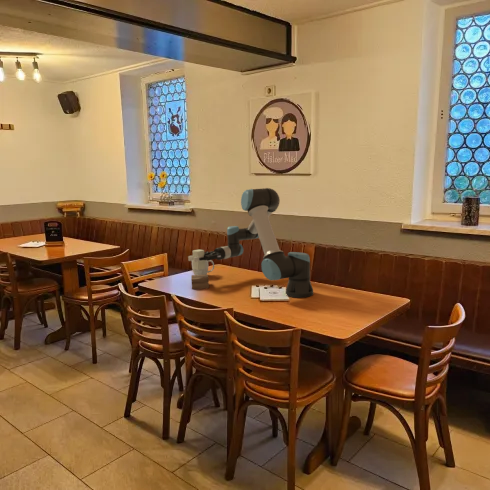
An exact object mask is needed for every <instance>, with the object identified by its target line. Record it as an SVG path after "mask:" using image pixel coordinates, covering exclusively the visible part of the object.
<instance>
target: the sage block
mask: <svg viewBox="0 0 490 490" xmlns="http://www.w3.org/2000/svg"><path fill="white" fill-rule="evenodd" d="M204 252H205V250H204V249H194V250H192V256H193V268H194V269H197V270H200V269H204V268H205V260H203V261H198V262H194V257H199V256H204Z"/></svg>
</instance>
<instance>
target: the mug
mask: <svg viewBox="0 0 490 490" xmlns="http://www.w3.org/2000/svg"><path fill="white" fill-rule="evenodd" d="M209 262H211V264H212V268H211V269H210V270H209ZM191 268H192V272H193V275H205V274H208V273H212V272H213V271H214V269H215V263H214V261H213V260H208V261H207V260H205V268H204V269H200V270H197V269H194V268H193V260H191Z"/></svg>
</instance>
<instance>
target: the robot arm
mask: <svg viewBox="0 0 490 490" xmlns="http://www.w3.org/2000/svg"><path fill="white" fill-rule="evenodd" d="M240 198H241V199H240V206H241V209H242V210H243V211H245V212H247V214H248V215H249V216H250V217H252V220H251V222H250V223H249V225H248V226H247V227H244V228H240V227H239V226H238V225H230V226H228V227H227V229H226V237H227V245H225V246H219V247H216V248H215V249H214V250H213V251H208V250H207V251H204V256H199V257H194V262H198V261H203V260H207V261H208V260H212V261H213V260H218V261H221V260H227V259H229V258H234V257H235V258H236V257H239V256H242V255H243V254H244V247H243V245H242V244H241V243H240V241H247V240H255V239H259V241H260V245H261V249H262V251H263V254H264V255H263V258H262V261H261V265H260V266H261V271H262V273H263V276H264V277H265V278H266V279H267V280H269V281H279V280H283V279H288V281H287V285H286V288H285V294H287V295H288V296H287V295H286V296H287V297H291V298H297V299H298V298H300V299H301V298H309V297H311V296H313V295H314V288H313V286H312V283H311V260H310V259H311V258H310V255H309V253H305V252H298V251H297V252H296V251H290V252H288V253H287V255H285V252H284V251H283V250H281V249H280V247H279V243H278V241H277V238H276V234H275V232H274V229H273V226H272V223H271V221H270V216H271V215H272V213H275V212H276V211H277V209H279V205H280V196H279V194H278V192H277V191H276V190H275V189H273V188H269V187H265V188H254V189H253V188H250V189H246V190H243V192H242V194H241V197H240ZM187 258H188V262H192V260H193V255H188V256H187Z"/></svg>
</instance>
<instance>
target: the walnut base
mask: <svg viewBox="0 0 490 490" xmlns="http://www.w3.org/2000/svg"><path fill="white" fill-rule="evenodd" d="M209 284H210V283H209V274H208V273H207V274H205V275H195V274H191V290H199V289H209V288H210V285H209Z"/></svg>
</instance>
